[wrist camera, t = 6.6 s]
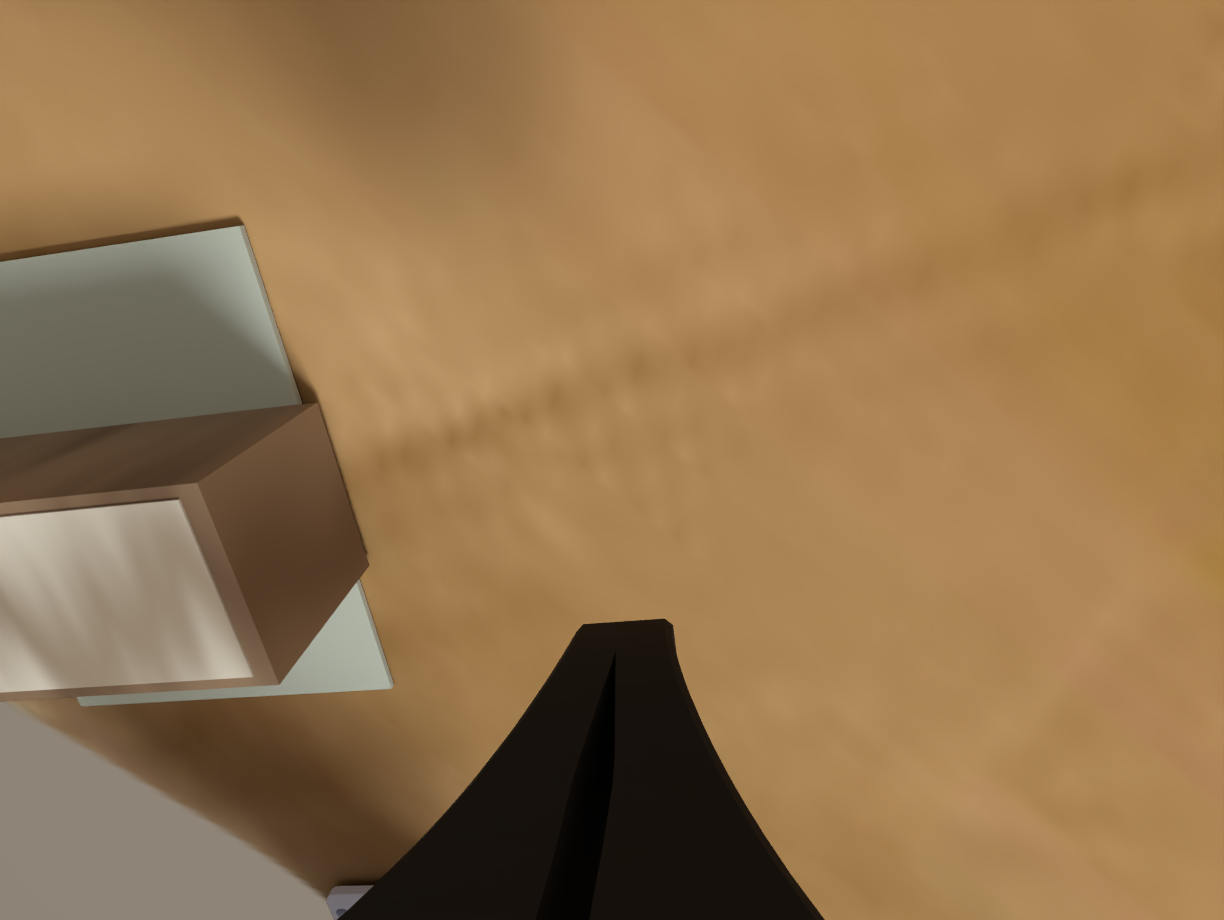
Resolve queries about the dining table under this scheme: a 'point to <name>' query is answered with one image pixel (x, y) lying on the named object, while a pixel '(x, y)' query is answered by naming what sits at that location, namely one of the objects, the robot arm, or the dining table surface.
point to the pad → (163, 385)
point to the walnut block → (170, 553)
